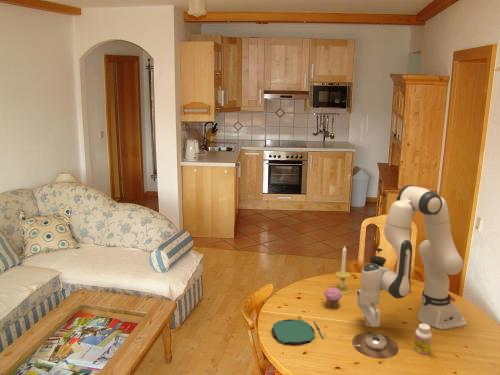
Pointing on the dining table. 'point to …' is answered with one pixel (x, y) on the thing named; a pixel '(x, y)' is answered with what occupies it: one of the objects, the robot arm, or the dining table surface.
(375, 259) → the french press
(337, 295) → the cupcake
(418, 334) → the supplement bottle
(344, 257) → the candle
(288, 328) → the cutlery set
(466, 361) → the dining table surface
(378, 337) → the cover
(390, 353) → the platter
